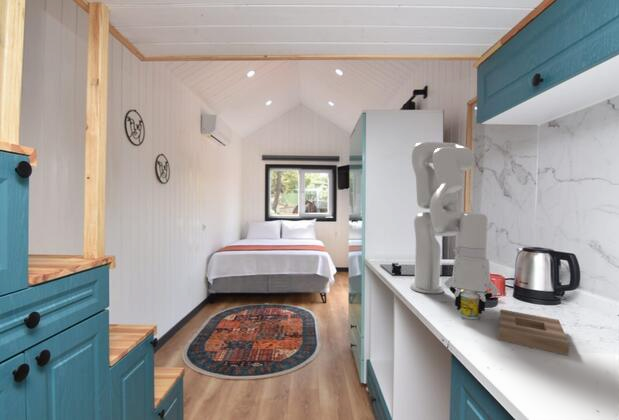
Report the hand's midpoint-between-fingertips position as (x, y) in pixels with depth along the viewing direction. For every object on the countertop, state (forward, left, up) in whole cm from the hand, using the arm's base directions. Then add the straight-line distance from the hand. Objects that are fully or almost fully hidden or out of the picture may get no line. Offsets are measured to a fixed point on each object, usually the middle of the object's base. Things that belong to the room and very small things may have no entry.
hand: (469, 310), depth 96 cm
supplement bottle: (0, 0, -2) cm, 2 cm away
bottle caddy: (+5, +15, -2) cm, 16 cm away
